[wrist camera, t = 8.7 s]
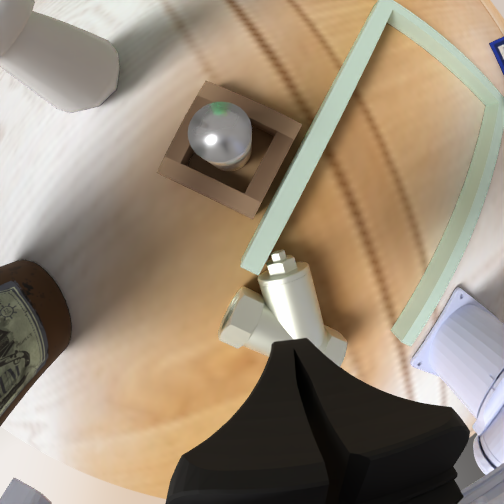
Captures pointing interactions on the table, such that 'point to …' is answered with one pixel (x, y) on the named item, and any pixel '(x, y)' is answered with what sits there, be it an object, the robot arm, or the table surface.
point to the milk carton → (499, 51)
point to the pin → (221, 135)
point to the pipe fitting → (280, 312)
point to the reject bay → (308, 154)
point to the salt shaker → (56, 58)
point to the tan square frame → (265, 173)
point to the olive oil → (28, 329)
